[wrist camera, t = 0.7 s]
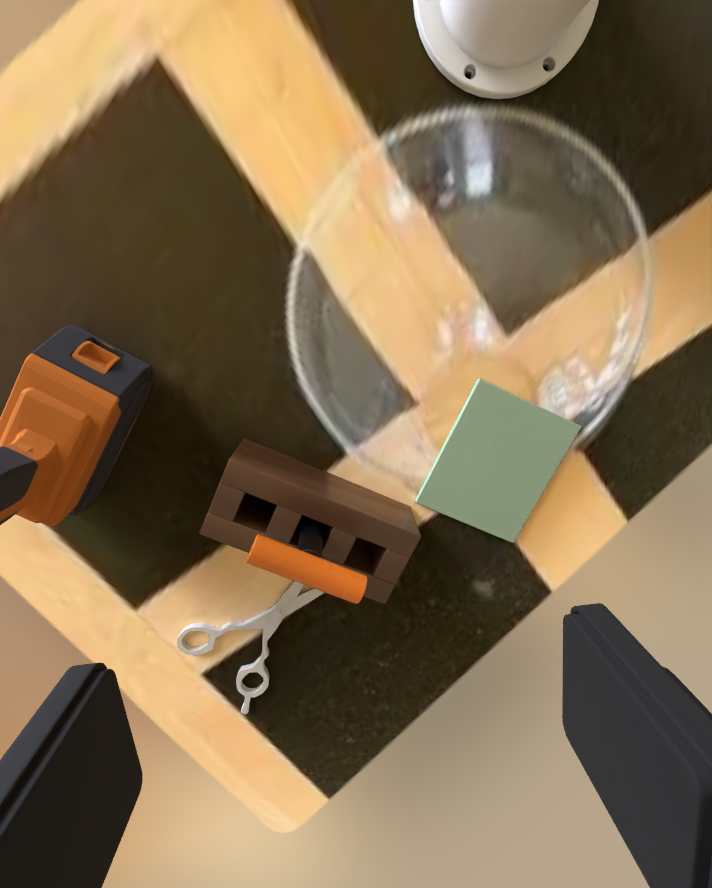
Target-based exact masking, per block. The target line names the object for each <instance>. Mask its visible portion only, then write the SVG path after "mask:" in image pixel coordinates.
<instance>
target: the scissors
mask: <svg viewBox="0 0 712 888" xmlns="http://www.w3.org/2000/svg"><path fill="white" fill-rule="evenodd" d="M303 586H304V584H301V583H298V582H296V581H294V583H293V584H292V585H291V586H290V587H289V589H288V590H287V591H286V592H285V594H284V595H283V596H282V597H281V598H280V600H279V601H278V602H277V603H276V605H275V606H274V607H272V608H269V609H267V610H266V611H264V612H262V613H260V614H259V615H257V616H255V617H253V618H250V619H248V620H246V621H244V622H234V621H230V622H229V623H227V624H226V625H224V626H223V627H218V626H212V625H209V624H205V623H197V624H191V625H189V626H187V627H186V628H184V629H183V630H182V631H181V633H180V635H179V637H178V642H177V644H178V648H179V649H180V650H181V651H182V652H184V653H185V654H189V655H194V656H195V655H200V654H204V653H206V652H209V651H211V650H213V647H214V644H215V640H216V637H220V636H221V635H222V634H224V633H225V632H228V631H234V630H244V629H247V630H256V629H263V649H262V654H261V656H260V657H259V658H258V659H257V660H256V661H255V662H254V663H252V664H249V665H244V666H241V668H240V670H239V672H238V675H237V680H236V685H237V689H238V691H239V692H240V693H241V694H242V695H244V696H245V702H244V703H243V706H242V710H241V713H243V714H247V713H248V712H249V702H250V698H251V697H257V696H258V695H260V694H262V693H263V692H264V691H265V690H266V689H267V687H268V684H269V672H268V669H267V668H266V666H265V665H264V660H265V659H266V658H267V657H268V655H269V648H268V646H267V641H268V640H269V638H270V637H271V636H272V634H273V633H274V632H275V630H276V629H277V627H278V626H279V624H280V623H281V621H282V620H283V618H284V617H285V616H287V615H289V614H290V613H292V612H294V611H295V610H297V609H299V608H300V607H302V606H304V605H305V604H307V603H309V602H310V601H312V600H314V599H315V598H317V597H318V596H320V595H321V594H323V593H324V592H322V591H320V590H317V589H312V590H310V591H308V592H306V593H303V594H301V595H299V596H298V594H299V592H300V591H301V589H302V588H303ZM297 596H298V597H297ZM190 631H203V632H205V633H206V634H208V635H209V638H210V639H209V641H208V642H206V643H205V644H203V645H201V646H197V647H190V646H189V645H188V644H186V642H185V641H184V638H183V637H184V636H185V635H186V634H187V633H188V632H190ZM251 672H258V673H259V674H260V675H261V676H262V677H263V680H264V681H263V683H262V684H261V685H260V686H258V687H257V688H247V687H246V686H245V685H244V684H243V683H242V679H243V678H244V676H246V675H247V674H248V673H251Z"/></svg>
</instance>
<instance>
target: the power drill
mask: <svg viewBox="0 0 712 888" xmlns="http://www.w3.org/2000/svg"><path fill="white" fill-rule="evenodd" d="M151 373H152V366H150V365H149V364H147V363H145V362H143V361H141V360H139V359H137V358H135V357H134V356H132V355H130V354H128V353H126V352H124V351H122V350H120V349H119V348H117V347H115V346H113V345H111V344H109V343H107V342H105V341H104V340H102V339H100V338H98V337H96V336H94V335H92V334H90V333H89V332H87V331H85V330H83V329H81V328H79V327H77V326H75V325H73V326H66V327H63V328H62V329H61V330H59V331H58V332H57V333H56V334H54V335H53V336H52V337H51V338H49V339H48V340H47V341H46V342H45V343H43V344H42V345H41V346H40V347H38V348H37V349H36V350H35V351H33V352H32V354H30V355H29V356H28V357H27V359H26V360H25V362H24V364H23V367H22V369H21V371H20V374H19V376H18V378H17V381H16V383H15V385H14V388H13V390H12V392H11V395H10V397H9V399H8V402H7V404H6V406H5V409H4V411H3V413H2V416H1V418H0V525H1V524H2V523H4V522H5V521H7V520H8V519H10V518H11V517H12V516H14V515H15V514H16V515H19V516H21V517H23V518H25V519H28V520H30V521H32V522H34V523H43V524H45V525H48V526H54V525H57V524H59V523H60V522H61V521H62V519H63V518H64V517H65V516H66V515H68V514H71V515H73V516H75V515H76V514H77V513H78V512H80V511H81V512H83V511H85V510H86V509H87V508H88V507H90V506H91V505H92V504H93V503H94V502H95V501H96V500H97V498H98V497H99V495H100V493H101V491H102V489H103V487H104V485H105V483H106V481H107V479H108V477H109V475H110V473H111V471H112V469H113V466H114V464H115V462H116V460H117V458H118V456H119V454H120V452H121V450H122V448H123V446H124V444H125V442H126V440H127V438H128V436H129V434H130V432H131V430H132V428H133V426H134V424H135V422H136V420H137V418H138V416H139V414H140V412H141V410H142V408H143V405H144V403H145V401H146V399H147V397H148V395H149V393H150V391H151V389H152V387H153V383H154V382H153V380H152V379H150V376H151Z"/></svg>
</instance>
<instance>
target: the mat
mask: <svg viewBox="0 0 712 888" xmlns="http://www.w3.org/2000/svg"><path fill="white" fill-rule="evenodd" d="M580 429H581V426H579V425H577V424H575V423H573V422H571V421H569V420H567V419H565V418H562V417H560V416H558V415H556V414H554V413H552V412H550V411H548V410H545V409H543V408H541V407H539V406H537V405H535V404H533V403H530V402H528V401H526V400H524V399H522V398H520V397H518V396H516V395H513V394H511V393H509V392H507V391H505V390H503V389H501V388H498V387H496V386H494V385H492V384H490V383H488V382H486V381H484V380H481V379H479V378H478V380H477V381H476V383H475V385H474V387H473V389H472V391H471V393H470V395H469V397H468V399H467V401H466V403H465V405H464V407H463V409H462V410H461V412H460V414H459V416H458V418H457V420H456V422H455V424H454V426H453V428H452V430H451V432H450V434H449V436H448V437H447V439H446V441H445V443H444V445H443V447H442V449H441V451H440V453H439V455H438V457H437V459H436V461H435V463H434V465H433V466H432V468H431V470H430V472H429V474H428V476H427V478H426V480H425V482H424V484H423V486H422V488H421V490H420V492H419V493H418V495H417V497H416V499H415V501H416V503H418V504H420V505H423V506H425V507H427V508H430V509H432V510H435V511H437V512H439V513H442V514H444V515H447V516H449V517H451V518H454V519H456V520H459V521H461V522H463V523H466V524H468V525H471V526H473V527H475V528H478V529H480V530H483V531H485V532H487V533H490V534H492V535H495V536H497V537H499V538H502V539H504V540H507V541H509V542H511V543H514V541H515V539H516V538H517V536H518V534H519V533H520V531H521V529H522V527H523V526H524V524H525V522H526V521H527V519H528V517H529V516H530V514H531V512H532V510H533V509H534V507H535V505H536V504H537V502H538V500H539V499H540V497H541V495H542V493H543V492H544V490H545V488H546V487H547V485H548V483H549V481H550V480H551V478H552V476H553V475H554V473H555V471H556V470H557V468H558V466H559V464H560V463H561V461H562V459H563V458H564V456H565V454H566V453H567V451H568V449H569V447H570V446H571V444H572V442H573V441H574V439H575V437H576V435H577V434H578V432H579V430H580Z"/></svg>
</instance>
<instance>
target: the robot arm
mask: <svg viewBox="0 0 712 888" xmlns="http://www.w3.org/2000/svg"><path fill="white" fill-rule="evenodd" d="M598 2H599V0H413V3H414V14H415V20H416V24H417V28H418V31H419V35H420V38H421V40H422V43H423V45H424V47H425V49H426V51H427V54H428V55H429V57H430V58H431V60H432V61H433V63H434V64H435V66H436V67H437V69H438V70H439V71H440V72H441V73H442V74H443V75H444V76H445V77H446V78H447V79H448V80H449V81H450V82H451V83H453V84H455V85H456V86H458V87H459V88H461V89H462V90H464V91H465V92H468V93H471V94H474V95H476V96H479V97H483V98H491V99H506V98H514V97H518V96H521V95H524V94H527V93H530V92H532V91H534V90H535V89H537V88H539V87H541V86H543V85H544V84H546V83H547V82H548V81H549V80H551V79H552V78H553V77H554V76H555V75H557V74H558V73H559V72H560V71H561V70H562V69H563V68H564V67H565V65H566V64H567V63H568V62H569V61H570V60H571V59H572V58H573V56H574V55H575V53H576V52H577V50H578V49H579V48H580V46H581V45H582V43H583V42H584V39H585V37H586V35H587V33H588V31H589V29H590V27H591V25H592V22H593V19H594V16H595V13H596V9H597V6H598ZM543 67H546V69H547V71H545V70H544V69H543ZM465 74H469V75H470V79H467V78H466V77H465ZM562 718H563V725H564V730H565V733H566V736H567V738H568V740H569V742H570V744H571V746H572V748H573V749H574V751H575V753H576V755H577V756H578V758H579V760H580V762H581V764H582V766H583V767H584V769H585V771H586V773H587V775H588V776H589V778H590V780H591V782H592V784H593V785H594V787H595V789H596V791H597V792H598V794H599V796H600V798H601V800H602V802H603V803H604V805H605V807H606V809H607V811H608V813H609V814H610V816H611V818H612V820H613V822H614V823H615V825H616V827H617V829H618V831H619V832H620V834H621V836H622V838H623V840H624V841H625V843H626V845H627V847H628V849H629V850H630V852H631V854H632V856H633V858H634V859H635V861H636V863H637V865H638V867H639V868H640V870H641V872H642V874H643V876H644V878H645V879H646V881H647V883H648V885H649V887H650V888H712V714H711V713H710V712H709V711H708V710H707V708H705V706H704V705H703V704H702V703H701V702H700V701H699V700H698V699H697V698H696V697H695V696H694V695H693V694H692V693H691V692H690V691H689V690H688V688H687V687H686V686H685V685H684V684H683V683H682V682H681V681H680V680H679V679H678V678H677V677H676V676H675V675H674V674H673V673H672V672H671V671H670V670H668V669H667V668H664V667H662V666H661V665H660V664H659V663H658V662H657V661H656V660H655V659H654V658H653V657H652V655H651V654H650V653H649V652H648V651H647V650H646V649H645V648H644V647H643V646H642V645H641V644H640V643H639V642H638V641H637V640H636V638H635V637H634V636H633V635H632V634H631V633H630V632H629V631H628V630H627V629H626V628H625V627H624V626H623V625H622V623H621V622H620V621H619V620H618V619H617V618H616V617H615V616H614V615H613V614H612V613H611V612H610V611H609V610H608V609H607V607H605V606H604V605H603V604H600V603H598V604H589V605H581V606H574V607H573V608H572V609H571V613H570V614H568V615H565V616H564V619H563V715H562ZM141 786H142V770H141V766H140V762H139V758H138V755H137V751H136V747H135V744H134V740H133V737H132V733H131V729H130V726H129V722H128V719H127V715H126V711H125V708H124V704H123V700H122V697H121V693H120V689H119V686H118V682H117V678H116V675H115V672H114V671H113V670H112V669H107V667H106V666H105V665H104V664H103V663H93V664H85V665H77V666H72V667H70V668H69V669H68V670H67V671H66V673H65V674H64V676H63V677H62V678H61V679H60V681H59V682H58V683H57V685H56V686H55V687H54V689H53V690H52V691H51V693H50V694H49V695H48V697H47V698H46V699H45V701H44V702H43V704H42V705H41V706H40V707H39V709H38V710H37V711H36V713H35V714H34V716H33V717H32V718H31V720H30V721H29V722H28V724H27V725H26V726H25V728H24V729H23V730H22V732H21V733H20V735H19V736H18V737H17V738H16V740H15V741H14V743H13V744H12V745H11V747H10V748H9V749H8V750H7V752H6V753H5V754H4V756H3V757H2V758H1V760H0V888H101V887H102V885H103V883H104V880H105V878H106V875H107V873H108V870H109V868H110V865H111V863H112V860H113V858H114V856H115V853H116V851H117V848H118V846H119V843H120V841H121V838H122V836H123V833H124V831H125V828H126V826H127V823H128V821H129V818H130V816H131V813H132V811H133V809H134V806H135V804H136V801H137V798H138V796H139V793H140V790H141Z"/></svg>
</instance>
